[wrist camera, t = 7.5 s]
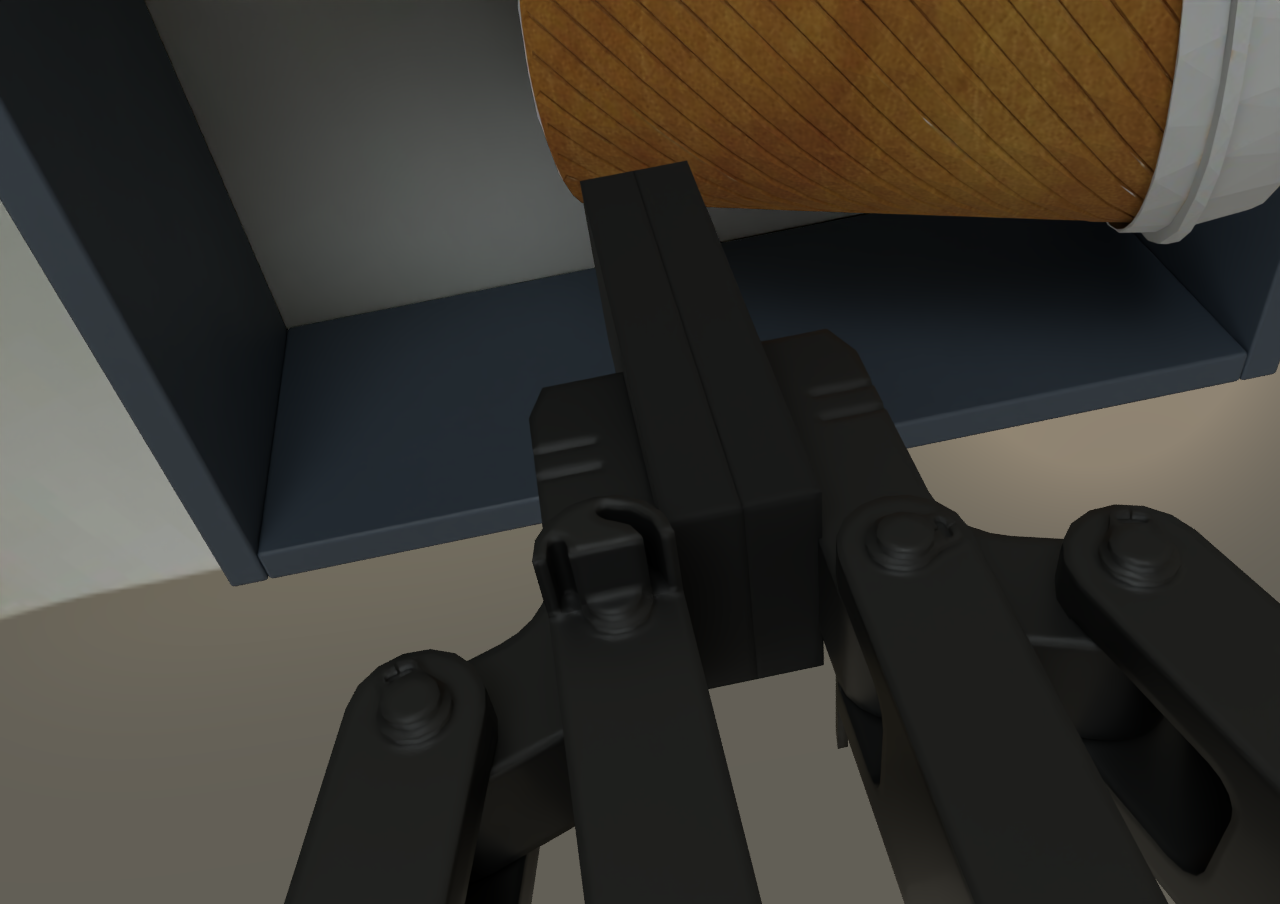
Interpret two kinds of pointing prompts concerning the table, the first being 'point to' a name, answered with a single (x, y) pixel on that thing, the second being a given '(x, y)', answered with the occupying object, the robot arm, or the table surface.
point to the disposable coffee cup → (922, 104)
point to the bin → (533, 319)
